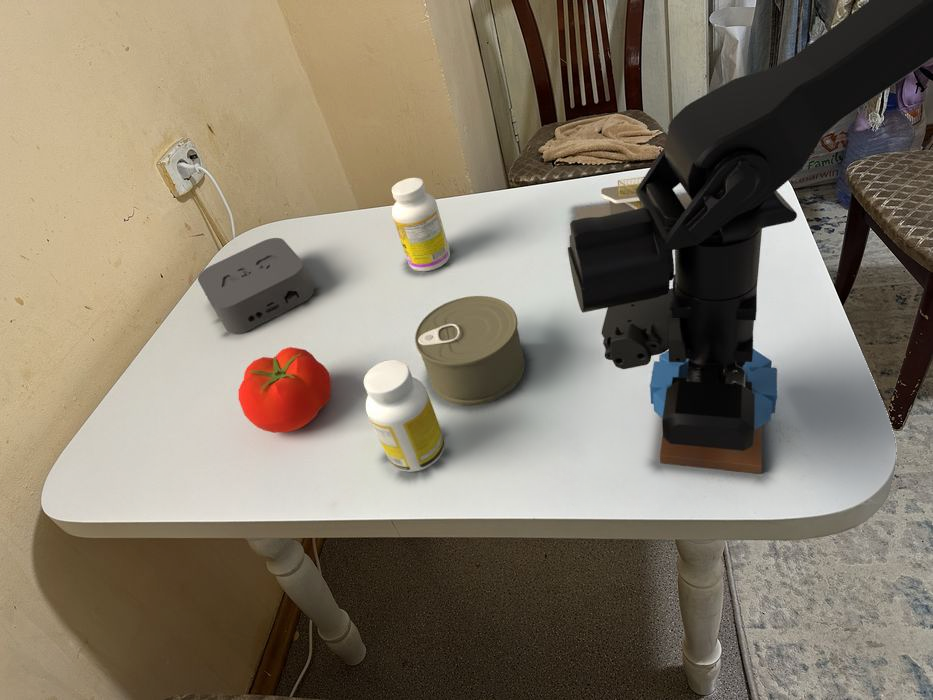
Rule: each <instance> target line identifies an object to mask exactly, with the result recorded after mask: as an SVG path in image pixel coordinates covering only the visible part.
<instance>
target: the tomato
mask: <svg viewBox="0 0 933 700" xmlns="http://www.w3.org/2000/svg"><path fill="white" fill-rule="evenodd" d="M331 391H332V378H331V375H330V372H329V371H328V369H327V368H326V366H325V365H324V364H323V363H321V362H320V361H318V360H317V359H316V358H315V356H314V355H313V354H312V353H311V352H309V351H308V350H306V349H303V348H298V347H291V346H289V347H285V348H282V349H281V350H280V351H278V353H277V354H276V355H275V356H273V357H269V356H268V357H267V356H262V357H259V358H258V359H254V360H253V361H252V362H251V363H250V364H248V365H247V367H246V368H245V371H244V373H243V380H242V381H241V384H240V386H239V387H238V402H239V404H240V407H241V409H242V412H243V415H244V416H245V418H246V419H247V420H248V421H249V422H250V423H251V424H253V425H254V426H256V428H258V429H260V430H262V431H264V432H265V431H266V432H270V433H289V432H292V431H293V432H294V431H296V430H299V429H301V428H302V427H304V426H306V425H307V424H308V423H310V422H311V421H312V420H313V419H314V418H315V417H316V416H317V415H318V413H319V412H320V410H321V409H323V408H324V407H325V406H326V405H327V404H328V402H329V399H330V397H331Z"/></svg>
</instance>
